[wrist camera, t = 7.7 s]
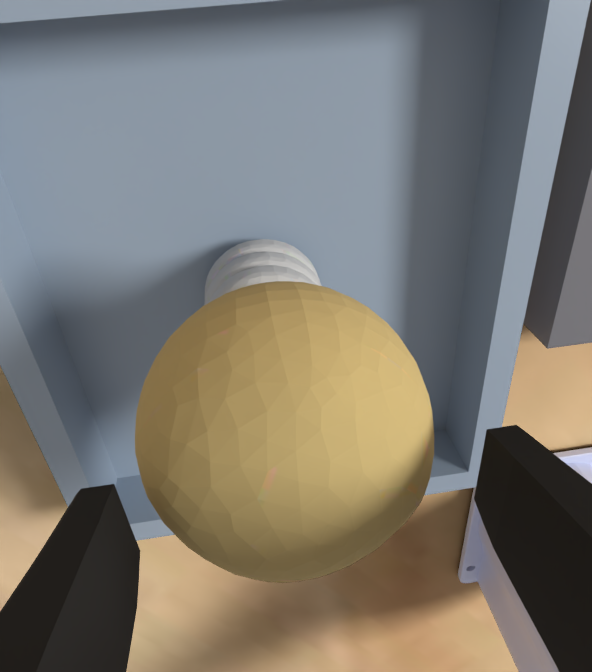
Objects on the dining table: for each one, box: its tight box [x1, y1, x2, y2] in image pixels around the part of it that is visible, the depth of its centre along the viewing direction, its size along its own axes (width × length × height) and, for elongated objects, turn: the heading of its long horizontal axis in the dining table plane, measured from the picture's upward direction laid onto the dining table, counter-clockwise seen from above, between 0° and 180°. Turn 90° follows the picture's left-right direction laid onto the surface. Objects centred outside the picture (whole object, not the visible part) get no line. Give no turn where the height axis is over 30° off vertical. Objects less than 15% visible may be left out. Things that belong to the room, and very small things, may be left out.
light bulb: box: [135, 239, 434, 583], centre depth 13 cm, size 6×6×10 cm
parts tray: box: [0, 0, 591, 541], centre depth 17 cm, size 18×16×3 cm
